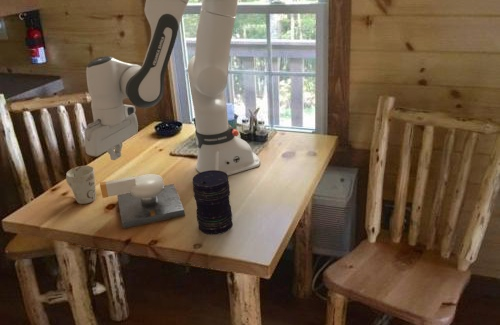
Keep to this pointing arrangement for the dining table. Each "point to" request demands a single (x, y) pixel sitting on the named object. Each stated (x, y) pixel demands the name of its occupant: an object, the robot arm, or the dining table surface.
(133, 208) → the plate
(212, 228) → the dark blue ribbed cylinder
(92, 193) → the mug
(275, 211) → the dining table surface
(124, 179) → the white handled oval piece
